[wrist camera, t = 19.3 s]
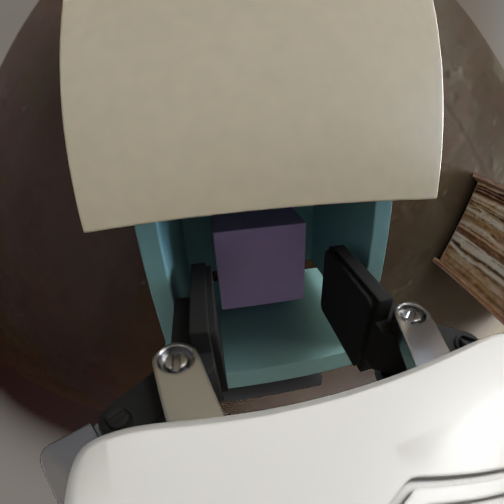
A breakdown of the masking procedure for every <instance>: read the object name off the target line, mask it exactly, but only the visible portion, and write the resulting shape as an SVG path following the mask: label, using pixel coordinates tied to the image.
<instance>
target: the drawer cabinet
mask: <svg viewBox="0 0 504 504" xmlns="http://www.w3.org/2000/svg"><path fill="white" fill-rule="evenodd" d="M59 66H60V94H61V108H62V119H63V128H64V137H65V144H66V151H67V157H68V164H69V169H70V175H71V180H72V185H73V190H74V195H75V199H76V204H77V208H78V212H79V216H80V220H81V224H82V228H83V231H84V232H85V233H88V232H94V231H100V230H106V229H113V228H120V227H126V226H133V225H140V224H147V223H154V222H162V221H169V220H177V219H185V218H193V217H201V216H210V215H219V214H228V213H237V212H247V211H257V210H267V209H278V208H289V207H301V206H313V205H327V204H341V203H356V202H373V201H393V200H417V199H436V198H437V194H438V186H439V177H440V168H441V156H442V141H443V76H442V61H441V50H440V41H439V34H438V27H437V20H436V14H435V9H434V4H433V0H63V3H62V13H61V26H60V53H59Z"/></svg>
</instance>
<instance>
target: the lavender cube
mask: <svg viewBox="0 0 504 504" xmlns="http://www.w3.org/2000/svg"><path fill="white" fill-rule="evenodd" d="M211 222H212V234H213V242H214V251H215V259H216V267H217V274H218V282H219V290H220V297H221V304H222V309H223V310H225V309H233V308H241V307H248V306H256V305H263V304H270V303H277V302H283V301H290V300H296V299H302V298H303V294H304V274H305V250H306V222H305V221H304V220H303V219H302V218H301V217H300V216H299V214H298V213H297V212H296V211H295V210H294V209H293V208H292V207H289V208H278V209H267V210H257V211H247V212H237V213H228V214H219V215H211Z"/></svg>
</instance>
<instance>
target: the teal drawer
mask: <svg viewBox="0 0 504 504" xmlns="http://www.w3.org/2000/svg"><path fill="white" fill-rule="evenodd" d="M292 208H293V209H294V210H295V211H296V212H297V213H298V214H299V216H300V217H301V218H302V219H303V220H304V221H305V222H306V250H305V260H309V259H311V260H312V261H313V263H314V264H315V265H316V267H317V268H311V269H305V274H304V294H303V298H302V299H296V300H290V301H283V302H277V303H270V304H263V305H256V306H248V307H241V308H233V309H225V310H223V309H222V304H221V297H220V290H219V282H218V281H213V282H214V289H215V295H216V302H217V308H218V315H219V321H220V328H221V337H222V345H223V353H224V361H225V369H226V376H227V383H228V391H226V392H223V397H224V400H222V402H227V401H235V400H242V399H249V398H256V397H262V396H268V395H274V394H280V393H285V392H290V391H295V390H300V389H305V388H309V387H314V386H318V385H321V383H322V376H321V372H324V371H328V370H333V369H337V368H341V367H344V366H348V365H352V363H351V361H350V359H349V357H348V356H347V354H346V352H345V350H344V348H343V347H342V345H341V343H340V341H339V339H338V338H337V336H336V334H335V332H334V331H333V329H332V327H331V325H330V324H329V322H328V320H327V318H326V317H325V315H324V313H323V311H322V309H321V294H322V282H323V270H324V257H325V251H326V250H328V249H329V247H330V246H336V245H344V246H345V247H346V248H347V249H348V250H349V251H350V252H351V253H352V254H353V255H354V256H355V257H356V258H357V259H358V260H359V261H360V262H361V263H362V265H363V266H364V267H365V268H366V269H367V270H368V271H369V272H370V273H371V274H372V275H373V276H374V277H375V278H376V280H377V281H378V282H379V283H380V279H381V274H382V268H383V263H384V257H385V251H386V245H387V239H388V232H389V225H390V217H391V209H392V201H373V202H356V203H341V204H327V205H313V206H301V207H292ZM134 226H135V231H136V236H137V240H138V244H139V249H140V253H141V257H142V261H143V265H144V269H145V273H146V277H147V281H148V284H149V288H150V292H151V295H152V299H153V302H154V306H155V309H156V312H157V316H158V319H159V322H160V325H161V329H162V332H163V335H164V338H165V345H168V344H170V343H171V336H172V324H173V312H174V302H175V299H177V298H186V297H190V274H191V264H194V263H202V262H205V264H206V266H208V265H211V269H212V272H213V271H217V267H216V259H215V251H214V242H213V234H212V222H211V215H210V216H201V217H193V218H185V219H177V220H169V221H162V222H154V223H147V224H140V225H134Z"/></svg>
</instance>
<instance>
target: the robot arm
mask: <svg viewBox="0 0 504 504" xmlns="http://www.w3.org/2000/svg"><path fill="white" fill-rule="evenodd" d="M321 309H322V311H323V313H324V315H325V317H326V318H327V320H328V322H329V324H330V325H331V327H332V329H333V331H334V332H335V334H336V336H337V338H338V339H339V341H340V343H341V345H342V347H343V348H344V350H345V352H346V354H347V356H348V357H349V359H350V361H351V363H352V364H353V365H357V367H358V369H359V370H360V372H362V371H365V370H368V369H374V370H375V376H376V380H377V381H376V382H373V383H370V384H367V385H364V386H361V387H357V388H354V389H351V390H347V391H344V392H340V393H337V394H333V395H329V396H326V397H322V398H318V399H314V400H310V401H305V402H301V403H297V404H292V405H287V406H283V407H278V408H272V409H267V410H261V411H255V412H249V413H243V414H236V415H228V416H225V414H224V412H223V410H222V408H221V405H220V403H221V402H222V400H224V397H223V392H226V391H228V383H227V376H226V369H225V361H224V353H223V345H222V337H221V328H220V321H219V315H218V308H217V302H216V295H215V289H214V282H213V275H212V269H211V265H208V266H206V264H205V262H202V263H194V264H191V279H190V297H186V298H177V299H175V302H174V312H173V324H172V336H171V343H170V344H168V345H165V346H163V347H162V348H160V349H159V350H158V351H157V352H156V353H155V354H154V357H153V359H152V365H153V370H154V372H152V373H151V374H150V375H148V376H147V377H146V378H145V379H143V380H142V381H141V382H139V383H138V384H137V385H136V386H134V387H133V388H132V389H130V390H129V391H128V392H126V393H125V394H124V395H123V396H121V397H120V398H119V399H117V400H116V401H115V402H113V403H112V404H111V405H109V406H108V407H107V408H106V409H105V410H104V411H103V412H102V414H101V415H100V417H99V421H98V423H96V424H94V425H93V426H92V424H90V423H89V424H87V425H85V426H83V427H81V428H80V429H78V430H76V431H74V432H72V433H70V434H69V435H67V436H65V437H63V438H61V439H59V440H57V441H55V442H53V443H51V444H49V445H48V446H46V447H45V448H44V449H43V451H42V453H41V456H40V463H41V467H42V470H43V472H44V474H45V477H46V479H47V481H48V483H49V486H50V488H51V490H52V492H53V494H54V496H55V498H56V500H57V502H58V504H504V334H497V335H492V336H488V337H486V338H483V339H480V340H478V339H477V338H476V337H475V336H474V335H472V334H470V333H467V332H464V331H460V330H457V329H453V328H450V327H446V326H443V325H439V324H436V323H435V322H434V320H433V318H432V317H431V315H430V313H429V312H428V310H427V309H426V308H425V307H423V306H422V305H420V304H418V303H415V302H401V303H399V304H396V303H395V302H394V301H393V297H392V296H391V295H390V294H389V293H388V292H387V290H386V289H385V288H384V287H383V286H382V285H381V284H380V283H379V282H378V281H377V280H376V278H375V277H374V276H373V275H372V274H371V273H370V272H369V271H368V270H367V269H366V268H365V267H364V266H363V265H362V263H361V262H360V261H359V260H358V259H357V258H356V257H355V256H354V255H353V254H352V253H351V252H350V251H349V250H348V249H347V248H346V247H345V246H344V245H336V246H330V247H329V249H328V250H326V251H325V257H324V270H323V282H322V294H321Z"/></svg>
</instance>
